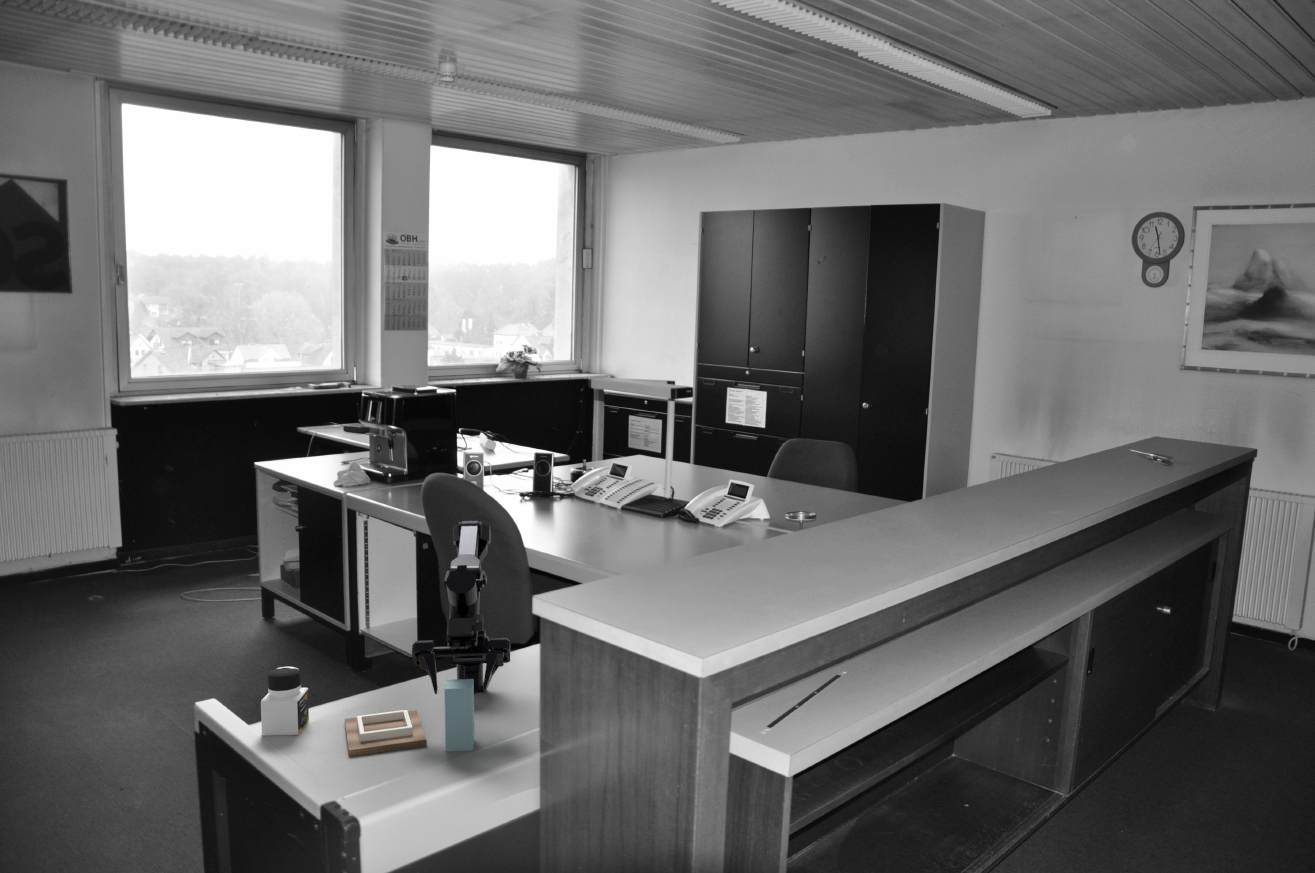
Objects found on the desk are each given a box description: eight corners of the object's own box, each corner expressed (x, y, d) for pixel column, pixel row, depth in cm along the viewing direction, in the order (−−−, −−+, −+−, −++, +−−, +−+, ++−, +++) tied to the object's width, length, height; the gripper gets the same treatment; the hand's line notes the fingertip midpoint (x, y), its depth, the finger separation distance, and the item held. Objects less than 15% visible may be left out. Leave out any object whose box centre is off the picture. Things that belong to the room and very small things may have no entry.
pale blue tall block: (447, 740, 183) (446, 679, 182) (474, 739, 184) (473, 678, 182) (445, 751, 178) (444, 688, 177) (472, 750, 179) (472, 687, 178)
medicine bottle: (299, 735, 185) (297, 675, 184) (261, 736, 185) (259, 675, 184) (309, 721, 192) (307, 663, 191) (273, 722, 192) (271, 663, 191)
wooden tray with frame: (344, 724, 190) (344, 711, 190) (416, 715, 195) (416, 702, 195) (349, 756, 176) (348, 742, 175) (426, 745, 180) (426, 731, 180)
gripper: (412, 600, 185) (405, 674, 175) (509, 597, 187) (508, 670, 177) (417, 629, 193) (411, 701, 183) (510, 625, 196) (510, 696, 186)
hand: (460, 691), depth 182 cm, fingers open, 9 cm apart
